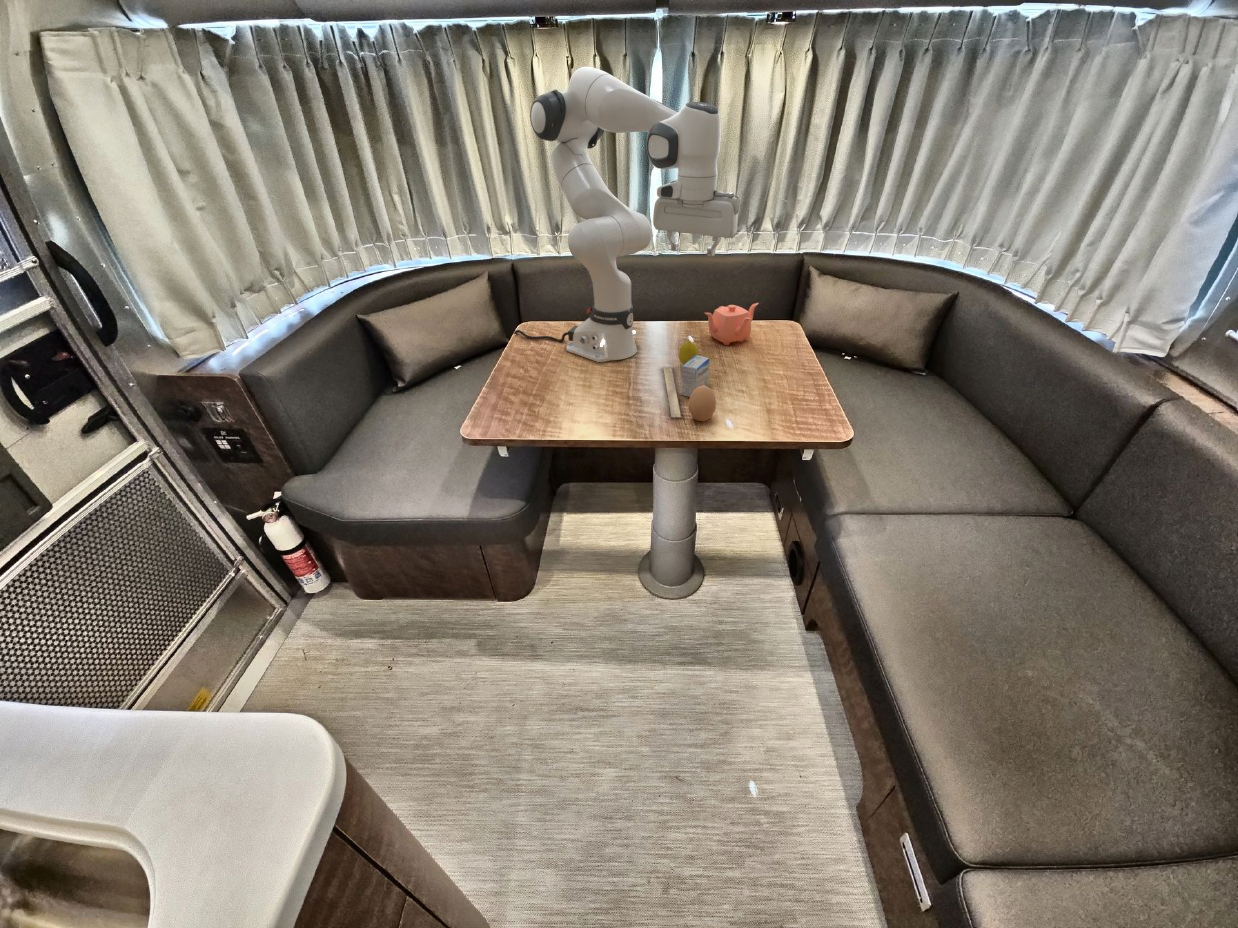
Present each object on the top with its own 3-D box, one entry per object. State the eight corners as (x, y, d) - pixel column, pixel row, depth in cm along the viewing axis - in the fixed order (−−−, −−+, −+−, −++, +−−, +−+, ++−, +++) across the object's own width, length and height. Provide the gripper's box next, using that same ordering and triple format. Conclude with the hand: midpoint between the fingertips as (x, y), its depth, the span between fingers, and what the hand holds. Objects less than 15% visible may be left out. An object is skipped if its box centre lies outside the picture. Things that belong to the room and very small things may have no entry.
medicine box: (695, 399, 140) (697, 369, 135) (680, 395, 142) (681, 365, 137) (707, 387, 145) (710, 357, 140) (693, 383, 147) (695, 354, 142)
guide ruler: (671, 418, 132) (671, 417, 132) (663, 369, 155) (663, 368, 155) (681, 418, 132) (681, 417, 132) (671, 369, 155) (671, 368, 155)
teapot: (754, 333, 175) (759, 300, 169) (747, 350, 164) (751, 316, 158) (711, 328, 179) (714, 296, 173) (701, 344, 169) (703, 310, 162)
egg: (699, 410, 135) (701, 377, 130) (720, 419, 131) (723, 386, 126) (681, 419, 131) (683, 386, 126) (702, 429, 127) (705, 395, 122)
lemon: (685, 372, 153) (686, 346, 148) (674, 365, 157) (675, 339, 152) (701, 368, 155) (703, 342, 150) (690, 361, 159) (692, 336, 154)
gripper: (745, 190, 118) (738, 255, 126) (662, 184, 126) (661, 245, 134) (735, 195, 113) (728, 262, 122) (650, 188, 122) (649, 251, 130)
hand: (692, 253), depth 128 cm, fingers open, 8 cm apart
